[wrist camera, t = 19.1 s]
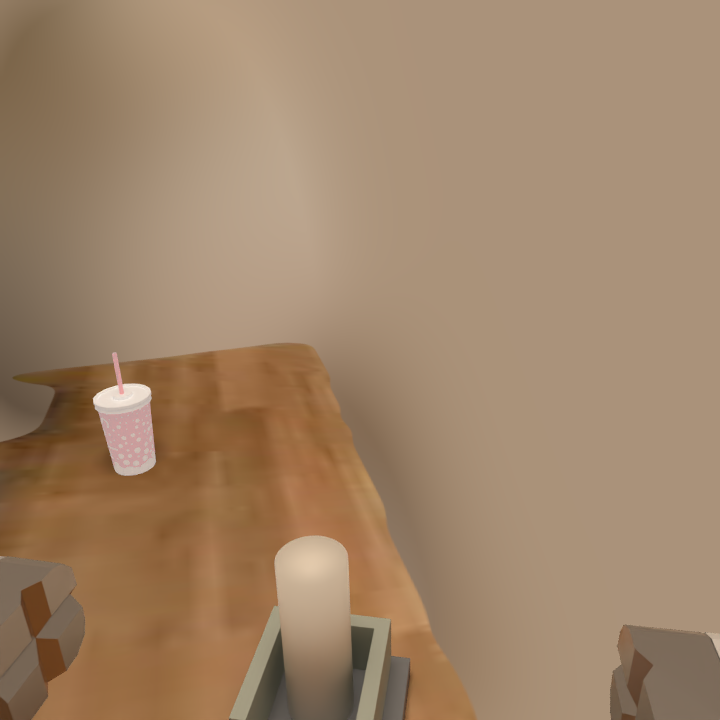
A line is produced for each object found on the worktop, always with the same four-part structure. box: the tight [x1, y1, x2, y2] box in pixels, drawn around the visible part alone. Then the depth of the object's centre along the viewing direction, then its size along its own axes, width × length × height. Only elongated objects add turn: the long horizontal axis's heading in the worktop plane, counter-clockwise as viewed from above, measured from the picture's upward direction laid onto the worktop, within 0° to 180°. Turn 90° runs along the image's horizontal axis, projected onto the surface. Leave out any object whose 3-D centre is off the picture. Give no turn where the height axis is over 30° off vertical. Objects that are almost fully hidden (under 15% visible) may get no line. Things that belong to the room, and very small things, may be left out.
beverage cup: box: [93, 352, 156, 475], centre depth 71 cm, size 6×6×14 cm
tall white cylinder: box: [275, 536, 354, 720], centre depth 40 cm, size 4×4×12 cm
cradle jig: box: [229, 606, 410, 720], centre depth 41 cm, size 11×13×6 cm
